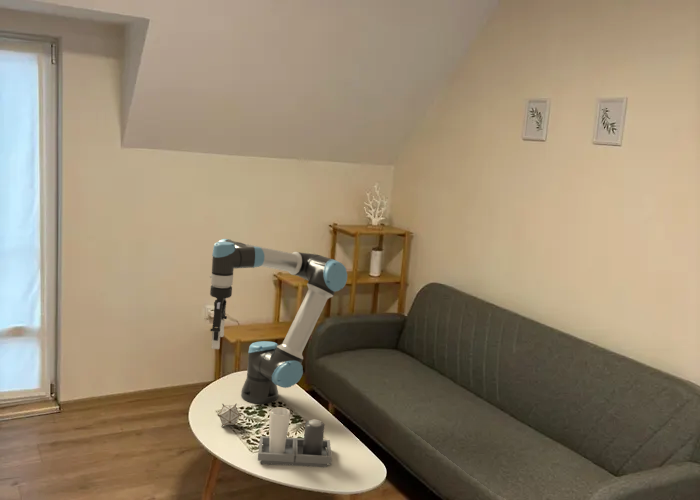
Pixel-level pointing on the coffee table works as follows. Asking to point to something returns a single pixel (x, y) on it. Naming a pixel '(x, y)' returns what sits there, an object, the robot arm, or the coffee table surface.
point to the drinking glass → (278, 429)
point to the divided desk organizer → (300, 448)
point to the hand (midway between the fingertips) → (217, 342)
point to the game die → (229, 415)
